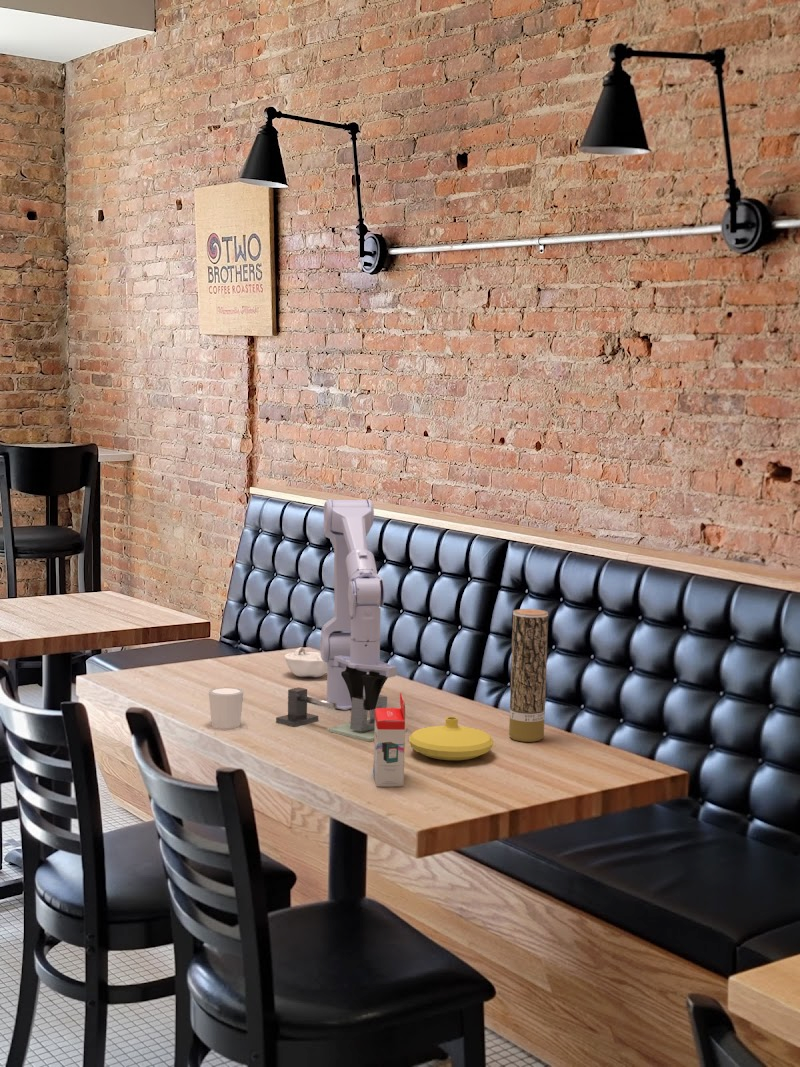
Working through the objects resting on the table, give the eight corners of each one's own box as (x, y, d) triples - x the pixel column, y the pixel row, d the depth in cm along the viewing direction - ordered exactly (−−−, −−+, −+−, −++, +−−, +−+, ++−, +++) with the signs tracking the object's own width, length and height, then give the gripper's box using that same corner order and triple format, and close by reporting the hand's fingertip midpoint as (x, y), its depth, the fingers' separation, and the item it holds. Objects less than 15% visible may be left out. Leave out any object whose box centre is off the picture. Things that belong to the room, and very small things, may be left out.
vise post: (300, 716, 274) (301, 684, 273) (346, 727, 266) (346, 695, 265) (276, 722, 269) (276, 690, 268) (321, 734, 261) (322, 701, 260)
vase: (478, 771, 238) (480, 733, 238) (396, 761, 244) (396, 723, 243) (503, 749, 253) (504, 713, 252) (424, 740, 258) (425, 704, 258)
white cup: (237, 730, 262) (237, 695, 261) (203, 728, 263) (203, 693, 262) (247, 722, 269) (248, 688, 268) (215, 719, 270) (215, 685, 269)
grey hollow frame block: (373, 724, 266) (375, 693, 266) (385, 727, 264) (387, 696, 264) (350, 728, 261) (352, 697, 261) (361, 731, 259) (363, 699, 259)
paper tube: (547, 736, 263) (551, 610, 260) (539, 744, 257) (543, 616, 254) (513, 732, 265) (517, 607, 262) (505, 740, 259) (509, 613, 256)
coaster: (365, 721, 271) (365, 718, 271) (406, 731, 264) (407, 728, 264) (328, 731, 263) (328, 728, 263) (369, 741, 256) (370, 738, 256)
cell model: (320, 684, 304) (321, 654, 303) (275, 678, 309) (275, 649, 308) (341, 675, 313) (342, 647, 312) (296, 670, 318) (297, 642, 317)
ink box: (372, 772, 236) (374, 691, 234) (400, 772, 236) (402, 691, 235) (375, 787, 228) (377, 703, 226) (404, 787, 228) (406, 703, 226)
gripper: (323, 636, 261) (322, 704, 263) (379, 647, 252) (378, 717, 254) (348, 632, 267) (347, 698, 268) (403, 642, 257) (402, 711, 259)
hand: (363, 707), depth 261 cm, fingers closed on grey hollow frame block, 3 cm apart
